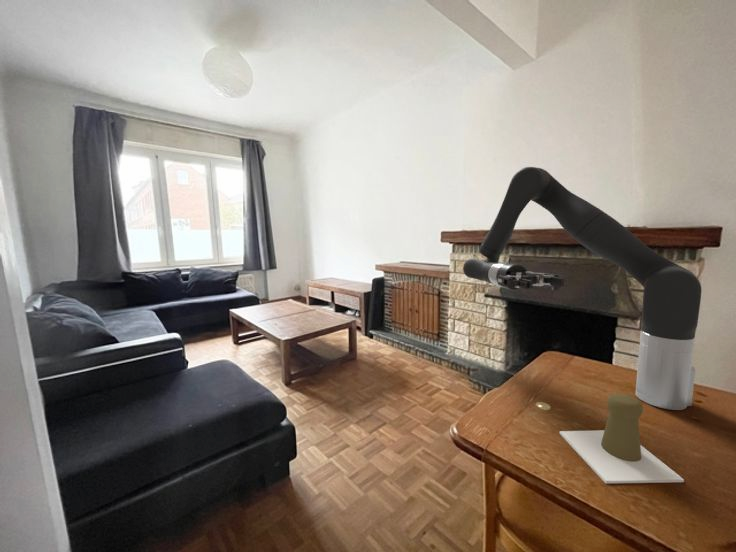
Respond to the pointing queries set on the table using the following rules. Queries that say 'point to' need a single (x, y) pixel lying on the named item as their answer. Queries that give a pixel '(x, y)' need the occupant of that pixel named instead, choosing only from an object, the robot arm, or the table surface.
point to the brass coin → (543, 405)
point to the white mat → (618, 461)
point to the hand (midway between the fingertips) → (547, 284)
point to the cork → (623, 427)
